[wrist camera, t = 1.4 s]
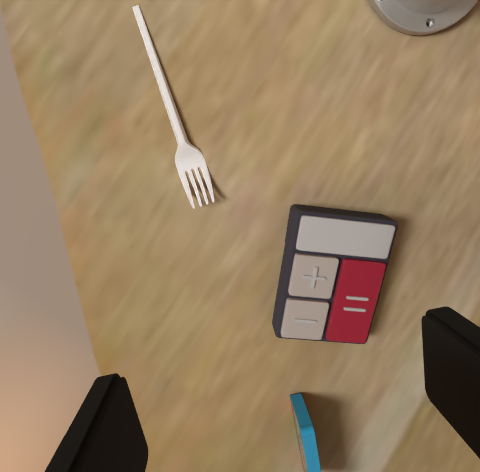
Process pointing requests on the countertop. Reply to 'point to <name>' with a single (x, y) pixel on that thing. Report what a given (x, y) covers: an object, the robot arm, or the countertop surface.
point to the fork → (177, 125)
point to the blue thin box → (305, 435)
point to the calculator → (331, 274)
